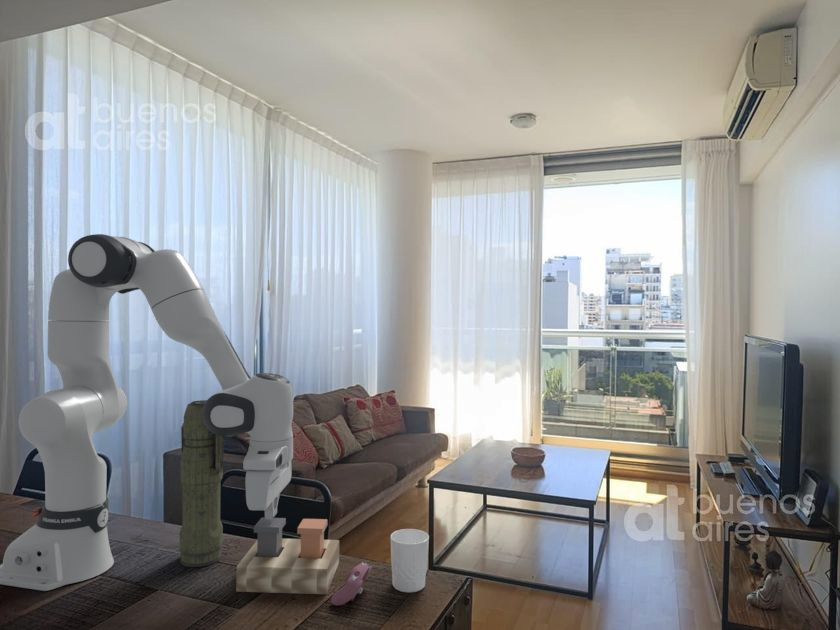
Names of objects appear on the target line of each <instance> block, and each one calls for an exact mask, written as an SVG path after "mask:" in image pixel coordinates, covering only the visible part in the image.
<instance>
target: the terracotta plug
mask: <svg viewBox="0 0 840 630" xmlns="http://www.w3.org/2000/svg"><path fill="white" fill-rule="evenodd" d="M327 527H328V519H327V518H325V519H324V518H303V519H302V520H301V522H300V523H299V525H298V526H297V530H296V531H297V532H296V533H297V535H300V539H301V555H300V558H315V559H320V558H321V556H322V554H323V552H324V540H325V531H326V529H327Z"/></svg>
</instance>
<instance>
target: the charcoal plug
mask: <svg viewBox="0 0 840 630" xmlns="http://www.w3.org/2000/svg"><path fill="white" fill-rule="evenodd" d="M286 520H287V519H286V517H273V519H265V517H261V518H260V519H259V520H258V521H257V523H255V524H254V525H253V533H254V534H255V533H256V534H257V540H256V541H257V557H278V555H279V554H280V552H281V551H282V538H283V528H284V527H285V525H286V524H287V521H286Z"/></svg>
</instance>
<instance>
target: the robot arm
mask: <svg viewBox="0 0 840 630" xmlns="http://www.w3.org/2000/svg"><path fill="white" fill-rule="evenodd" d="M67 263H68V268H67V269H65V270H62V271H61V272H59V273H58V274H57V275H56V276H55V277H54V280H53V283H52V287H51V291H50V296H49V303H48V316H47V317H48V318H47V320H48V321H47V322H48V323H47V358H48V360H49V362H51V363H52V364H53V365H55V366H56V368H57V369H58V371H59V373H60V377H61V379H62V385H63V388H59V389H54V390H50V391H47V392H45V393H43V394H41V395H38V396H37V397H35V398H33V399H31V400H29V401H28V402H27V403H25V404H24V406H23V407H22V408H21V410H20V413H19V416H18V428H19V432H20V433H21V436H22V437H23V438H24V440H26V441H28V443H30V444H31V445H33V446H34V447H35V448H36V451H38V454H39V456H40V459H41V462H42V466H43V469H44V470H43V471H44V482H45V483H44V484H45V485H44V487H45V488H44V489H45V490H44V492H45V495H44V498H45V500H44V501H45V503H44V505H42V506H40V507H39V508H38V509H37V510H34V511H33V512H31V514H33V515H32V516H31V518H36V517H37V516H38V519H37V520H36V523H35V524H34V525H33V526H31V527H30V528H29V529H27V530H26V531H25V532H22V534H21V535H19V536H18V537H16V538H15V539H14V540H13V541H12V542H11V543H10V544H9V545H8V546H7V548H6V549H5V552H4V556H3V561H2V564H0V585H4V586H9V587H16V588H22V589H29V590H30V589H31V590H34V591H35V590H36V591H42V592H47V591H51V590H54V589H57V588H61V587H63V586H66V585H69V584H70V585H71V584H74V583H75V584H76V583H80V582H83V581H86V580H90V579H92V578H95V577H97V576H100V575H102V574H104V573H105V572H107V571H108V570H109V569H111V568H112V566H113V565H114V563H115V559H114V557H113V554H112V550H111V546H110V541H109V534H108V533H109V532H108V522H109V507H110V506H109V498H108V497H107V477H108V476H107V474H108V473H107V462H106V460H104V458H102V457H101V456H99V455H98V453H97V450H96V447H95V444H94V434H96V433H99V432H102V431H104V430H106V429H108V428H110V427H112V426H113V425H114V424H116V423H117V422H118V421H119V420H121V418H123V417H124V415H125V413H126V411H127V407H128V398H127V396H126V394H125V392H124V390H123V389H122V388H121V387H120V386H119V385H118V383H117V381H116V379H115V375H114V373H113V368H112V365H111V359H110V349H109V348H110V303H111V302H110V301H111V299H112V297H113V296H114V295H115V294H116V293H118V294H122V295H123V294H124V295H125V294H126V293H130V292H134V291H137V290H140V291H141V292H142V293H143V295H144V297H145V299H146V301H147V303H148V305H149V307H150V310H151V312H152V313H153V314H152V315H153V317H154V318H155V320H156V323H157V324H158V325H159V327H160V328H161V330H162V331H163V332H164V334H165V335H166V336H167V337H168V338H169V339H171V340H173V341H175V342H177V343H181V344H183V345H185V346H187V347H190V348H192V349H194V350H195V351H197V352H198V353H199V354H201V355H202V357H204V359H205V360H206V362H207V363H208V365H209V367H210V368H211V371H212V373H213V374H214V376H215V377H216V380H217V381H218V383H219V385H220V387H221V391H218V392H216V393H214V394H213V395H211V396H210V397H208V399H206V400H207V401H206V403H205V404H204V407H203V411H202V417H203V422H204V424H205V426H206V428H207V429H208V430H209V431H210V432H211V433H213V434H215V435H217V436H222V437H223V438H224V437H233V436H238V435H243V434H249V446H248V450H247V453H246V455H245V456H244V458H243V462H242V465H243V466H242V468H243V470H245V471H246V473H245V480H244V481H245V483H244V484H245V501H246V506H247V508H248V510H249V511H264V518H265V519H273V518H275V517H276V515H277V514H278V504H279V499H280V494H281V492H282V491H283V490H284V489H285V488H286V487H287V485H289V483H291V480H292V474H293V473H292V460H293V458H294V432H293V429H292V427H293V426H292V422H293V419H294V395H293V388H292V384H291V381H290V380H289V379H288V378H287V377H286V376H285V377H284V376H283V375H280V374H277V373H271V372H268V373H267V372H260V373H256V374H254V375H253V376H252V377H251V376H250V374H249V372H248V371H247V369H246V368H245V366H244V364H243V363H242V361H241V359H240V357H239V355H238V353H237V352H236V350H235V348H234V346H233V344H232V342H231V341H230V339H229V338H228V336H227V334H226V331H224V328H223V326H222V324H221V323H220V320H218V317H217V315H216V314H215V311H214V309H213V307H212V304H211V302H210V300H209V298H208V296H207V294H206V292H205V289H204V287H203V286H202V283H201V282H200V280H199V278H198V276H197V275H196V273H195V271H194V269H193V268H192V266H191V265H190V263H189V262H188V260H187V259H186V258H185V257H184V255H183V254H182V253H180V252H178V251H177V250H173V249H170V248H169V249H168V248H167V249H158V250H155V249H154V248H153V247H152V246H149V244H146V243H145V242H141V241H137V240H135V239H132V238H129V237H125V236H113V235H112V236H111V235H108V234H101V233H97V234H96V233H95V234H89V235H86V236H82V237H80V238H78V239H77V240H76V241H75V242H74V243H73V244H72V246H71V247H70V249H69V251H68V256H67Z"/></svg>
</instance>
